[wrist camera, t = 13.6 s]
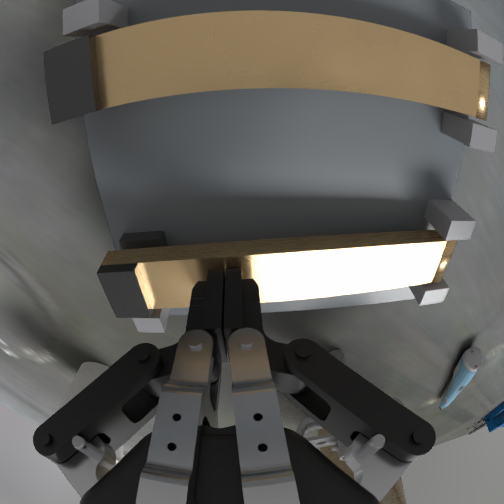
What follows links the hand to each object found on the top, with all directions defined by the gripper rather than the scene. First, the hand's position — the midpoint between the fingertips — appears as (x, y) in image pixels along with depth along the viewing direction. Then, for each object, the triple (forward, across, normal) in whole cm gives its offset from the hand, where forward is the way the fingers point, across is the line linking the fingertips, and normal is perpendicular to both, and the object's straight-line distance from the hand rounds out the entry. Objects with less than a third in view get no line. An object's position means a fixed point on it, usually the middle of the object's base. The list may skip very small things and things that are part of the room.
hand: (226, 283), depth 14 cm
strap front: (+1, -12, -10) cm, 16 cm away
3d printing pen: (+8, -32, +31) cm, 45 cm away
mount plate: (+4, -4, -5) cm, 7 cm away
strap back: (+1, -12, 0) cm, 13 cm away
